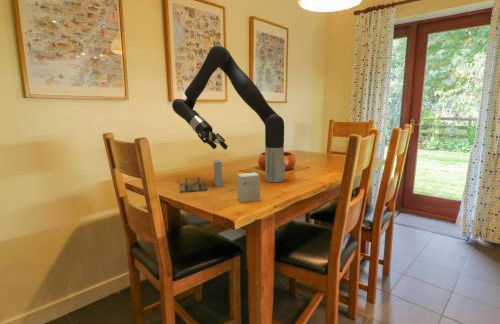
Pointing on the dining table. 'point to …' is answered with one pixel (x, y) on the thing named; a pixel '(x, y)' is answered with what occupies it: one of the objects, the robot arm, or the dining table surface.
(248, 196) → the small box
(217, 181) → the grey rectangular block
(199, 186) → the rack
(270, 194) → the dining table surface
